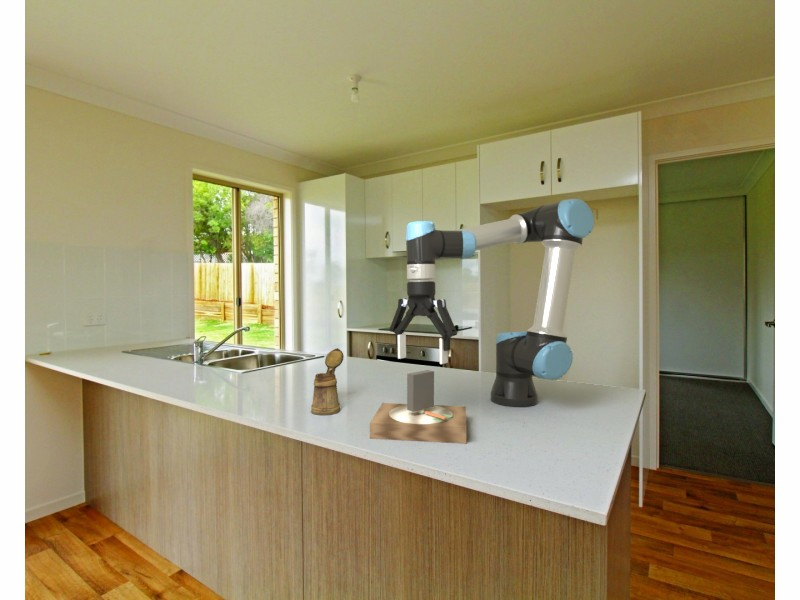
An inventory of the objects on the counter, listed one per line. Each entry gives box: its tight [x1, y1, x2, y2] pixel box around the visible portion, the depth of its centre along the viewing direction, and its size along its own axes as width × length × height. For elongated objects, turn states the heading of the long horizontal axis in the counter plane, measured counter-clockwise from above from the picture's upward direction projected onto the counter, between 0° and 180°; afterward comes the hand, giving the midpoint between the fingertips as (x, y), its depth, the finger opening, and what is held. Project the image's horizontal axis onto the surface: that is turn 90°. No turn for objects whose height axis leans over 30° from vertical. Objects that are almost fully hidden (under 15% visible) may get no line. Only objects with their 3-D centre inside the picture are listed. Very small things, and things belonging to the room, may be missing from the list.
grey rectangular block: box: [406, 369, 446, 420], centre depth 113 cm, size 8×10×11 cm
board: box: [369, 402, 467, 444], centre depth 116 cm, size 24×18×4 cm
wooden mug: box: [310, 348, 345, 416], centre depth 134 cm, size 9×14×18 cm, turn 163°
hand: (422, 360), depth 116 cm, fingers open, 13 cm apart
